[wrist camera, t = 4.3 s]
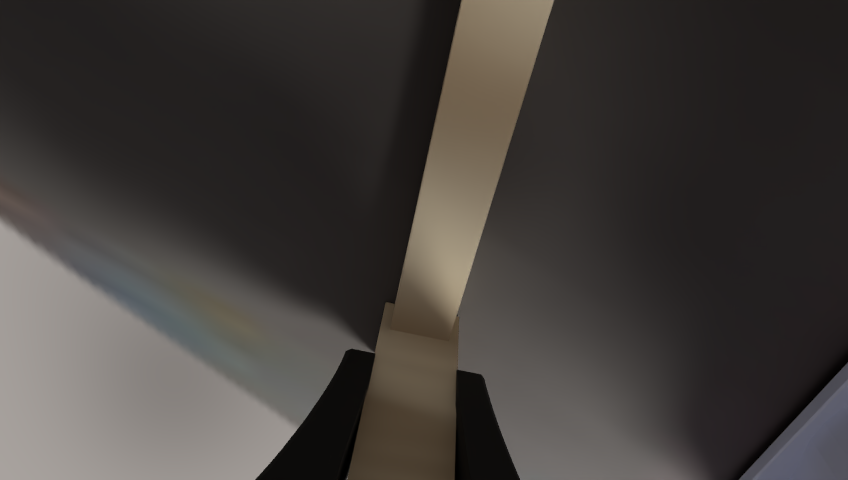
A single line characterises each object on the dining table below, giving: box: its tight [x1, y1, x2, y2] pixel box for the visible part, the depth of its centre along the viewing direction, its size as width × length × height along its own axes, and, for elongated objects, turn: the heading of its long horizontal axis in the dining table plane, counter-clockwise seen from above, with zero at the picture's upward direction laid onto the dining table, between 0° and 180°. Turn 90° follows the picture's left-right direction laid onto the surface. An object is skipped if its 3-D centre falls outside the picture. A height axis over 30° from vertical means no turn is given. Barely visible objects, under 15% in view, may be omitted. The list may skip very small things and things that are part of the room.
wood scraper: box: [347, 0, 554, 480], centre depth 8 cm, size 14×6×6 cm, turn 169°
